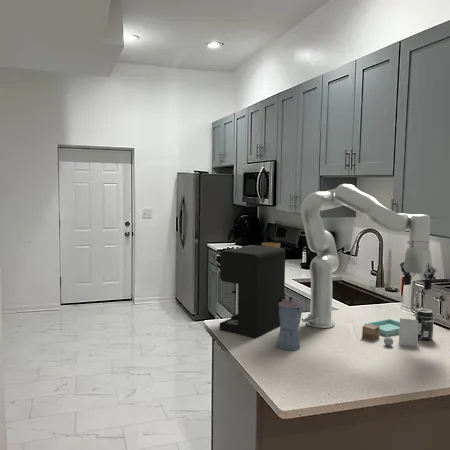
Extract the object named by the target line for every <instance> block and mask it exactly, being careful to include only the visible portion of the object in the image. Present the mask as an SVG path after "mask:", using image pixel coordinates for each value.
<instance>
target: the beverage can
mask: <svg viewBox="0 0 450 450" xmlns="http://www.w3.org/2000/svg"><path fill="white" fill-rule="evenodd" d="M434 315H435V314H434V313H433V310H432V309H429V308H417V311H416V312H415V320H418V340H421V341H430V340H432V339H433V337H434V324H435V323H434V322H435V321H434V319H435V316H434Z"/></svg>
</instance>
